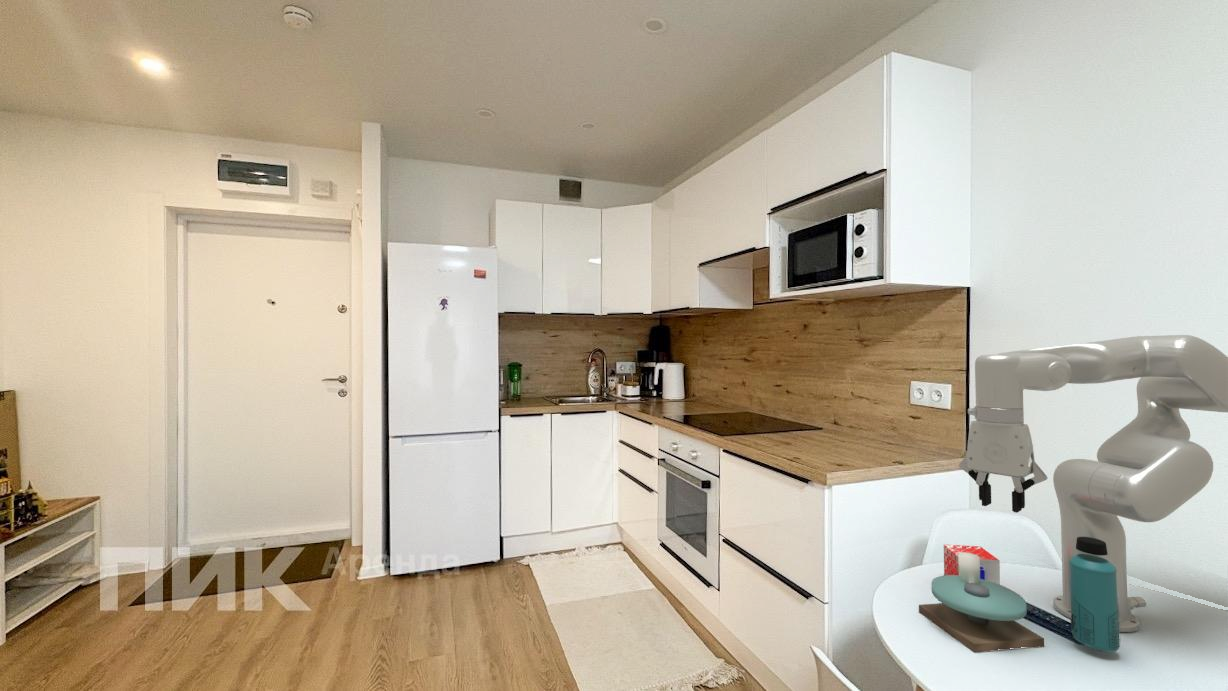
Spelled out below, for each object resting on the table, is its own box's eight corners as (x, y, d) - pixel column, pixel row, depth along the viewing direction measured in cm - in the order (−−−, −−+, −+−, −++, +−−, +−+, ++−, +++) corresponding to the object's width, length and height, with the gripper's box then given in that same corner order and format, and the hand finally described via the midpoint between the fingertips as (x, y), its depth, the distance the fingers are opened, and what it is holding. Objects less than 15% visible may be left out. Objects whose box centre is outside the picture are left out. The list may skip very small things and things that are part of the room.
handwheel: (979, 580, 105) (978, 549, 105) (1048, 617, 90) (1047, 582, 90) (914, 584, 104) (913, 553, 104) (973, 623, 89) (972, 587, 89)
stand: (980, 607, 105) (979, 582, 105) (1044, 646, 91) (1043, 618, 91) (918, 612, 103) (918, 587, 103) (974, 652, 89) (973, 623, 89)
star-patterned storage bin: (981, 579, 117) (980, 546, 117) (1000, 596, 109) (999, 560, 110) (943, 577, 119) (943, 544, 119) (960, 593, 111) (959, 557, 111)
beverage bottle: (1131, 663, 86) (1128, 547, 86) (1086, 658, 87) (1083, 544, 87) (1102, 641, 92) (1099, 533, 92) (1061, 637, 93) (1058, 531, 94)
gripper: (944, 413, 103) (946, 501, 103) (1048, 422, 90) (1051, 523, 89) (958, 410, 108) (960, 494, 107) (1060, 418, 94) (1062, 514, 94)
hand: (1001, 506), depth 98 cm, fingers open, 4 cm apart
